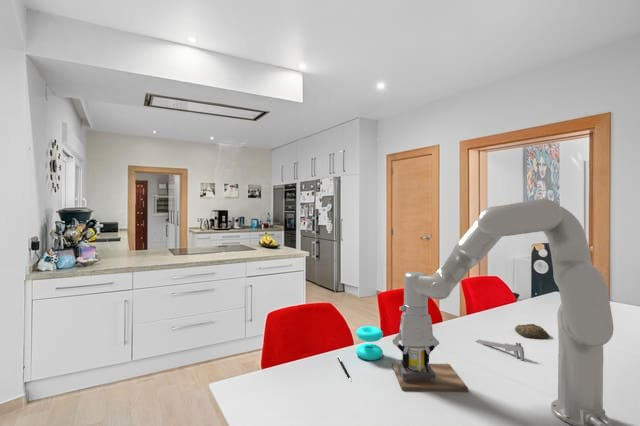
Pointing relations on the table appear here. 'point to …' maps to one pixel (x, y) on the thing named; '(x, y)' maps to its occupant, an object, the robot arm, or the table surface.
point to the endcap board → (429, 378)
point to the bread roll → (531, 331)
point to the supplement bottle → (415, 359)
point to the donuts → (368, 349)
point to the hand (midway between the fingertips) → (415, 364)
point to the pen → (344, 368)
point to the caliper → (506, 347)
